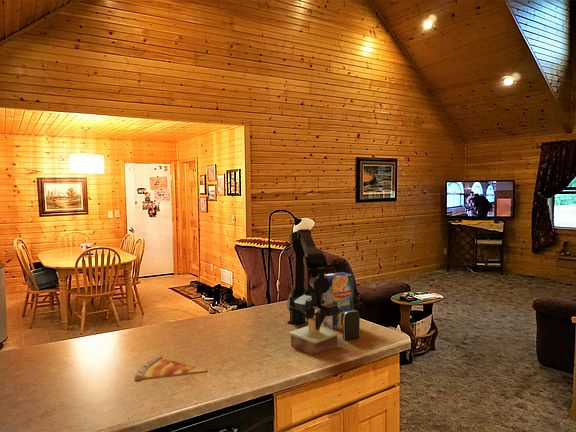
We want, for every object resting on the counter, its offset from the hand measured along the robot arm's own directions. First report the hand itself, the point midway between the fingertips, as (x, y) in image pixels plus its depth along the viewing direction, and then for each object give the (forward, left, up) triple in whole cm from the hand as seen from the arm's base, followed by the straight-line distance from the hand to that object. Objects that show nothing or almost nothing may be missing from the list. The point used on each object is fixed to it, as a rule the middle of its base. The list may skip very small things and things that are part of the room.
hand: (314, 328), depth 160 cm
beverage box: (-9, +25, -7) cm, 28 cm away
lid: (0, 0, -2) cm, 2 cm away
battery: (+4, +16, -7) cm, 18 cm away
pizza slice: (-19, -50, -8) cm, 54 cm away
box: (0, 0, -7) cm, 7 cm away
